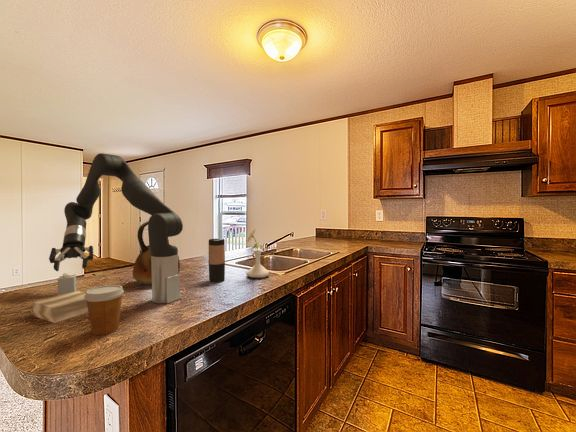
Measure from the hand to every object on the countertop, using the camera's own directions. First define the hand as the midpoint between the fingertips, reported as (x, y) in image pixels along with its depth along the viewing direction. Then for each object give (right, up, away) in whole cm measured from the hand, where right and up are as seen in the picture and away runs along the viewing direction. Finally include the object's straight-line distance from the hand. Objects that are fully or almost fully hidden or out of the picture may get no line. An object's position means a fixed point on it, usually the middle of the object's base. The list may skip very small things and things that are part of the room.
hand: (70, 268), depth 110 cm
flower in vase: (+72, -10, +29) cm, 78 cm away
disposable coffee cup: (+35, -12, -31) cm, 48 cm away
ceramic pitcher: (+26, -10, +20) cm, 34 cm away
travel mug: (+53, -10, +22) cm, 59 cm away
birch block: (+13, -12, -17) cm, 24 cm away
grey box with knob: (+3, -11, -5) cm, 12 cm away
